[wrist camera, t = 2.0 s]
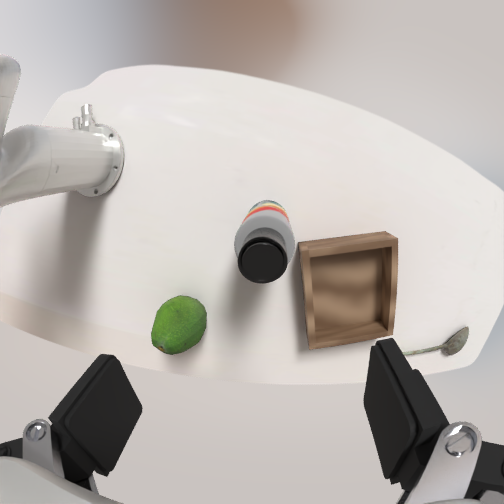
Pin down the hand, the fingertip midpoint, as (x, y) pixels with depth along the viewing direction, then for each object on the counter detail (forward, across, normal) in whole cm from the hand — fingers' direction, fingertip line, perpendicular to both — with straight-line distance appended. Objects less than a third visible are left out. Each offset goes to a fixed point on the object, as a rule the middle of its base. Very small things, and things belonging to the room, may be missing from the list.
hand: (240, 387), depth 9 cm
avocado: (+33, +15, +13) cm, 38 cm away
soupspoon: (+33, -31, +28) cm, 53 cm away
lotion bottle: (+33, 0, 0) cm, 33 cm away
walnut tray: (+32, -11, +11) cm, 36 cm away
